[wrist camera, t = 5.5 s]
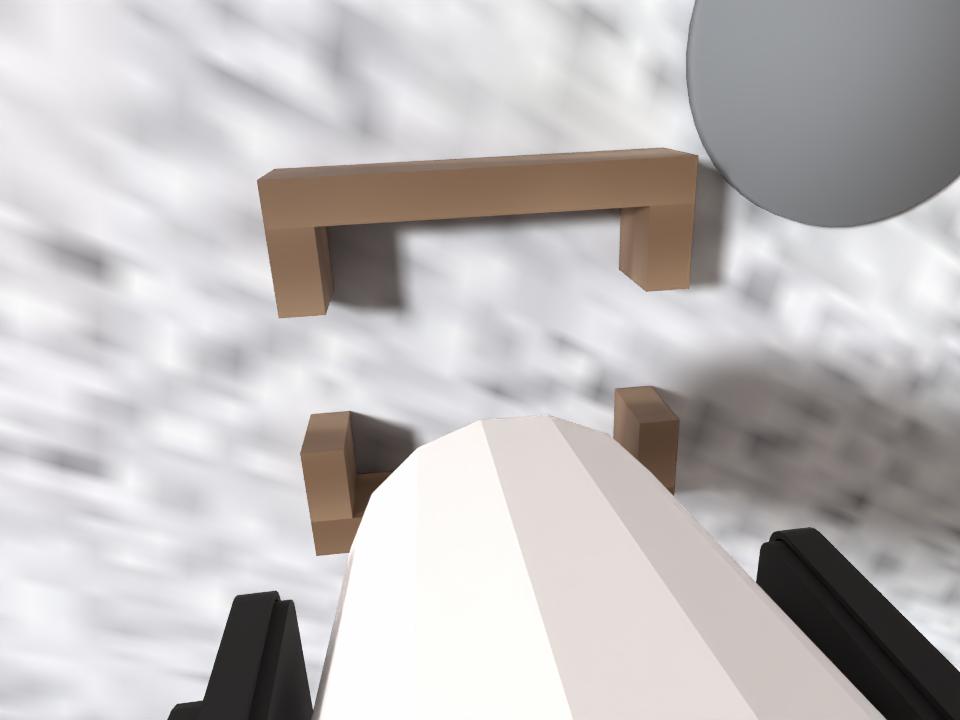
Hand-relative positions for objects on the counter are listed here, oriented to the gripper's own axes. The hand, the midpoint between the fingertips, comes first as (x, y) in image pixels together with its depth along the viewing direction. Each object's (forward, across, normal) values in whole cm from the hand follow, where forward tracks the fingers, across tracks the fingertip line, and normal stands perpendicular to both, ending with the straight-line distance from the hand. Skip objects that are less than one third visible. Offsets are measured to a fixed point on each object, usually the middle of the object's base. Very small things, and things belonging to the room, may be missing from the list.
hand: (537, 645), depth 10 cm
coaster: (+12, -12, -8) cm, 19 cm away
